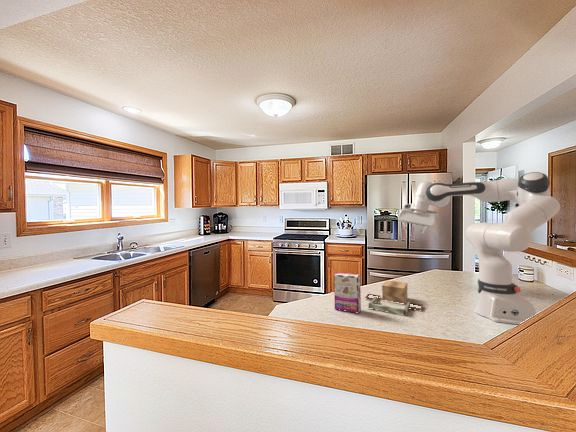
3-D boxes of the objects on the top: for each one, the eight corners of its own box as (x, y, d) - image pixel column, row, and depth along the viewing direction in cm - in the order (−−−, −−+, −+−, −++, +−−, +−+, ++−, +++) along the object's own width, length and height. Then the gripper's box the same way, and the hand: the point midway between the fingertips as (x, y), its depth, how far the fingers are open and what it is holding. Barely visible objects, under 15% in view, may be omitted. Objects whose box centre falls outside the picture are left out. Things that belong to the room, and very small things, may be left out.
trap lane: (423, 304, 128) (423, 299, 128) (418, 318, 114) (418, 312, 114) (368, 295, 142) (368, 291, 142) (357, 307, 128) (357, 301, 127)
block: (407, 298, 138) (407, 282, 137) (404, 304, 129) (404, 288, 129) (387, 295, 143) (386, 280, 143) (382, 301, 135) (382, 285, 134)
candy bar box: (361, 309, 124) (360, 274, 123) (358, 313, 120) (358, 277, 119) (337, 306, 129) (337, 272, 129) (334, 309, 125) (333, 274, 124)
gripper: (440, 213, 154) (433, 236, 153) (403, 207, 167) (396, 229, 165) (438, 210, 149) (432, 234, 148) (400, 204, 162) (394, 226, 160)
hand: (413, 231), depth 157 cm, fingers open, 8 cm apart
